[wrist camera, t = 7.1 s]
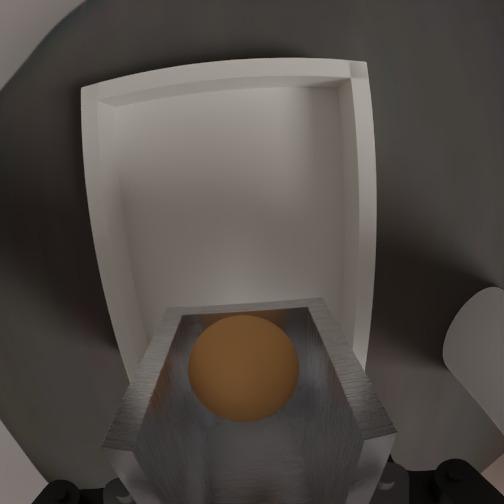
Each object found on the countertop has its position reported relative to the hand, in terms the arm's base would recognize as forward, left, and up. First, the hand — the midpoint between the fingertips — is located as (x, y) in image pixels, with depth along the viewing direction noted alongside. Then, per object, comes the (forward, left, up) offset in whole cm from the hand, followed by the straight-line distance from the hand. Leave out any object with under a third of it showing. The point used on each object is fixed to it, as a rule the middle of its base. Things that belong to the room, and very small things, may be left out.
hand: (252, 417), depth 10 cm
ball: (+2, -2, +1) cm, 3 cm away
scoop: (0, 0, -1) cm, 1 cm away
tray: (+4, -3, -7) cm, 9 cm away
